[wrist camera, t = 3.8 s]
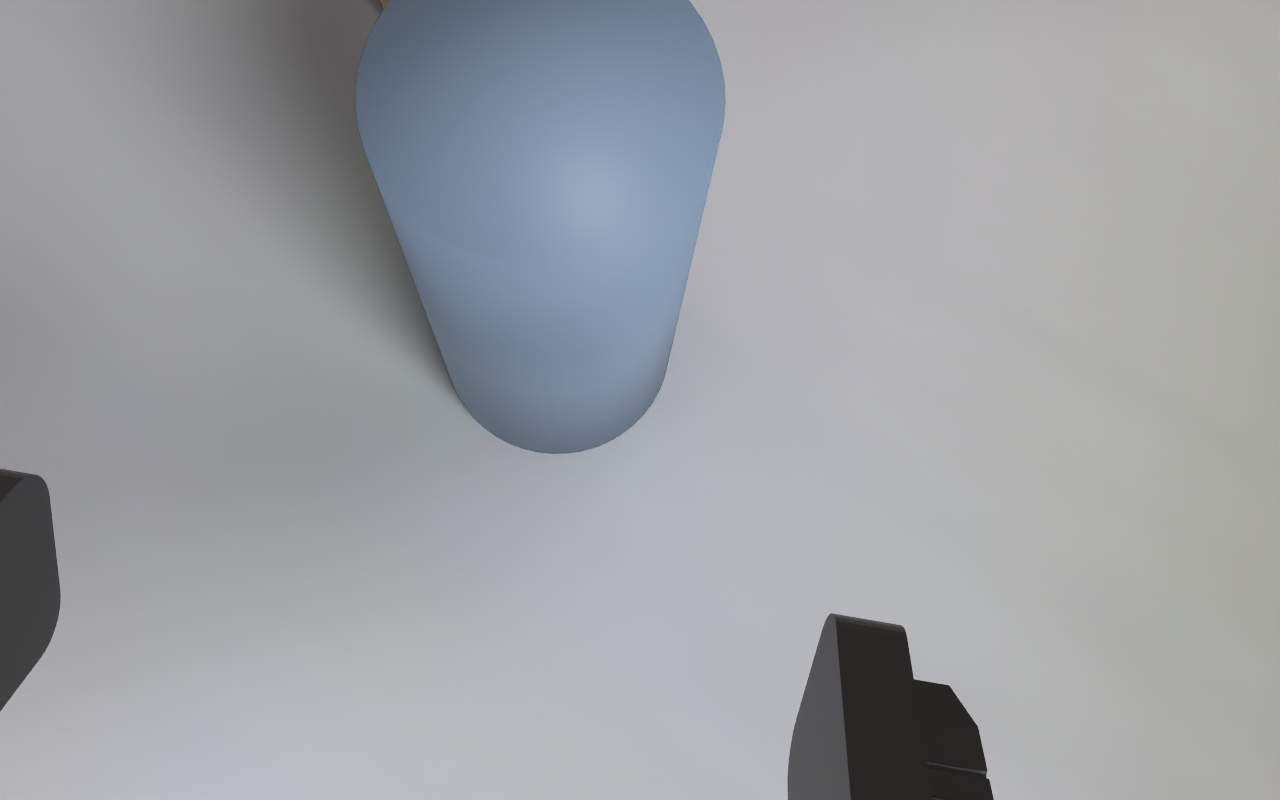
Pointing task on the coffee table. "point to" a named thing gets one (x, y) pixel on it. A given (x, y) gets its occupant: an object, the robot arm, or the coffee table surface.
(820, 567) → the coffee table surface
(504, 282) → the peg
